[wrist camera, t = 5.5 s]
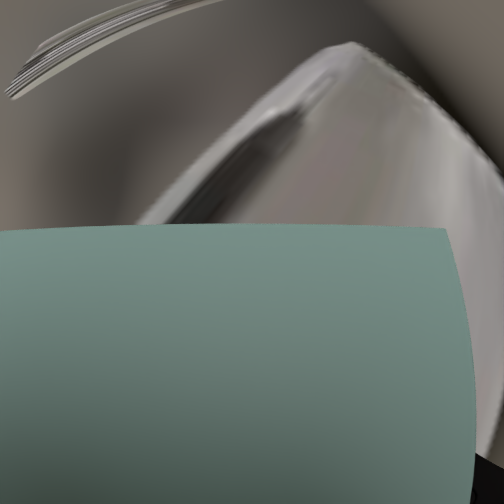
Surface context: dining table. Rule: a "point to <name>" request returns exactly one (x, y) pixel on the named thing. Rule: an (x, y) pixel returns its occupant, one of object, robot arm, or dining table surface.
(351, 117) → the dining table surface
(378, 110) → the dining table surface
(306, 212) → the dining table surface
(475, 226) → the dining table surface
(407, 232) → the teal block
